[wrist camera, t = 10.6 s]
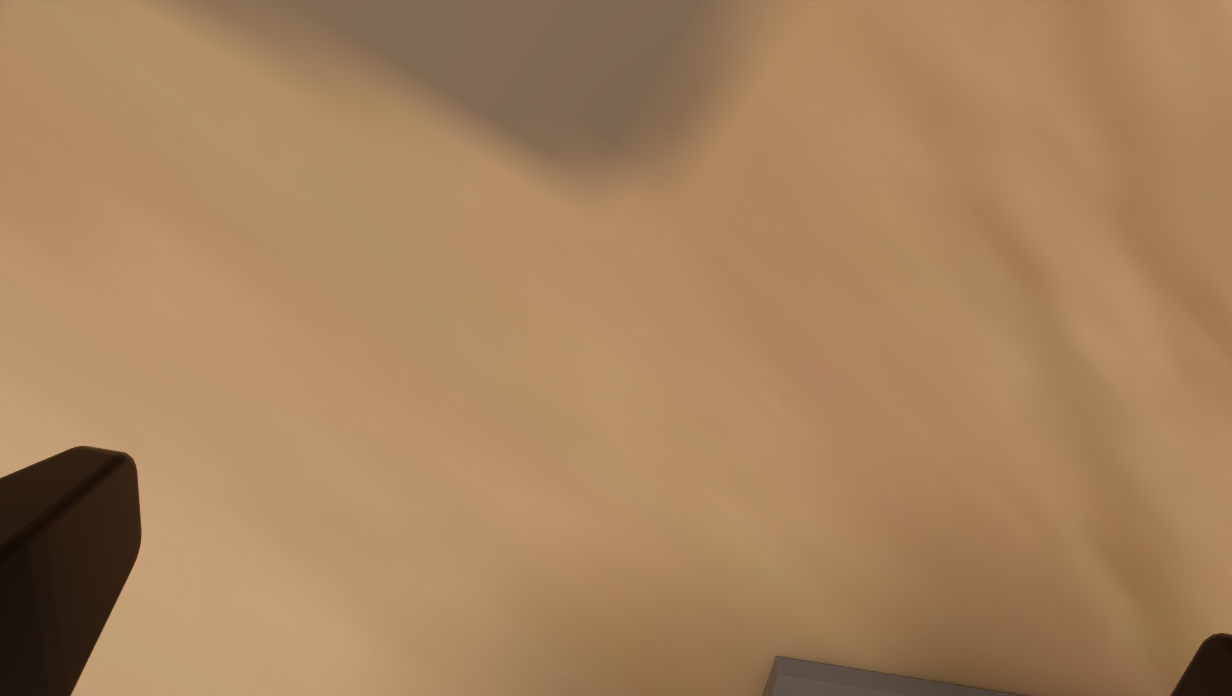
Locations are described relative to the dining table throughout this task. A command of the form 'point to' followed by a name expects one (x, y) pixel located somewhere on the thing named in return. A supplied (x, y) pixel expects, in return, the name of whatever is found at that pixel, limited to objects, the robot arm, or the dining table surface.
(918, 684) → the tray on grey plate
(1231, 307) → the dining table surface
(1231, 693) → the robot arm
